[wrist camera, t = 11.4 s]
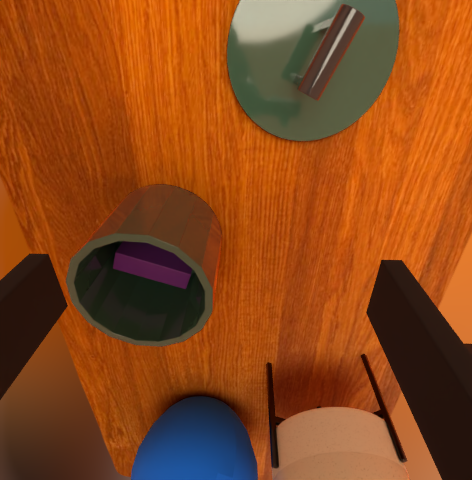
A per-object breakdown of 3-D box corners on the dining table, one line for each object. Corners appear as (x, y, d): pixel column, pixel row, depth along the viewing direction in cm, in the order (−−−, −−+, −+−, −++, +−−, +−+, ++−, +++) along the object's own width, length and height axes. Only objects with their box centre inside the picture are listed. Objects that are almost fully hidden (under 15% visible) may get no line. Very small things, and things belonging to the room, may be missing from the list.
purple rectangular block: (128, 232, 35) (125, 248, 36) (115, 252, 32) (112, 268, 33) (196, 253, 36) (191, 267, 37) (191, 274, 33) (185, 289, 34)
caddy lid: (203, 97, 28) (187, 112, 21) (276, -97, 22) (291, -174, 14) (330, 162, 31) (356, 196, 23) (430, 6, 24) (509, -14, 17)
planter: (273, 411, 53) (288, 625, 33) (260, 348, 45) (269, 579, 25) (366, 405, 51) (440, 627, 31) (370, 338, 43) (472, 579, 23)
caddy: (102, 255, 37) (56, 319, 28) (129, 164, 31) (82, 208, 22) (198, 291, 40) (183, 361, 31) (240, 213, 34) (236, 271, 25)
